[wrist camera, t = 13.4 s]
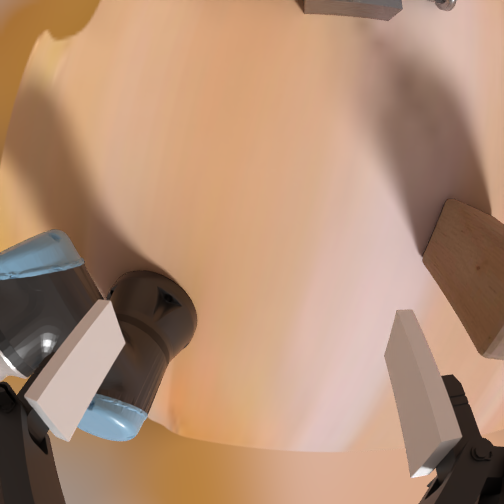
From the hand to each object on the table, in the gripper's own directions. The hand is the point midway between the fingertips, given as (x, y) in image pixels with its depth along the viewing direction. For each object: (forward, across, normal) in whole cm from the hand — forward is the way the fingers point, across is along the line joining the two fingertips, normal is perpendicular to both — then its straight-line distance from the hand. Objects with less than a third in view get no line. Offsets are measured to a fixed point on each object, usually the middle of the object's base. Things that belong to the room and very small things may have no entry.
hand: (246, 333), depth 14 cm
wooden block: (+27, +26, -7) cm, 38 cm away
